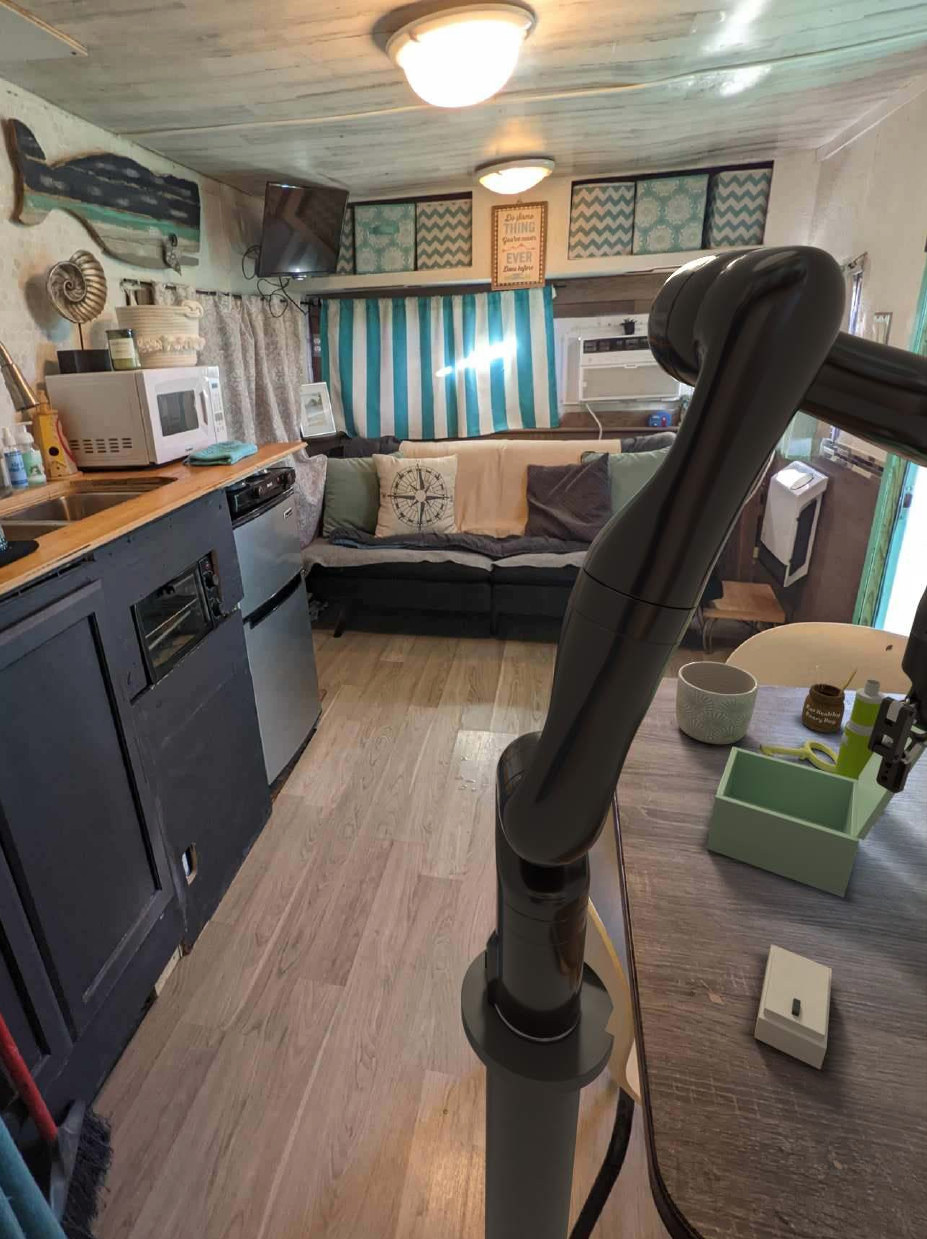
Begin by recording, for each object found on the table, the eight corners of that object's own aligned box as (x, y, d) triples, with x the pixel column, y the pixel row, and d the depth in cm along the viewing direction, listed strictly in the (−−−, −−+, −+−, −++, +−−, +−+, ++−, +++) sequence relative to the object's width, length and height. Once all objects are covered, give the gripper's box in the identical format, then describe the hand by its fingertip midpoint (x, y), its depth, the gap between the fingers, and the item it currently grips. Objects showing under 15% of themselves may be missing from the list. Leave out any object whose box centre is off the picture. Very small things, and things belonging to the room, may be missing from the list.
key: (753, 754, 107) (755, 743, 106) (819, 745, 109) (822, 734, 108) (785, 781, 100) (787, 769, 100) (854, 770, 102) (857, 759, 101)
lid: (927, 729, 68) (986, 752, 66) (920, 677, 79) (972, 695, 76) (855, 837, 76) (906, 860, 74) (858, 776, 86) (903, 795, 84)
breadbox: (706, 848, 88) (715, 796, 85) (724, 794, 98) (732, 746, 95) (843, 897, 79) (858, 841, 76) (847, 832, 90) (861, 780, 86)
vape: (823, 790, 98) (850, 675, 91) (867, 794, 97) (899, 677, 89) (834, 806, 94) (863, 688, 87) (880, 810, 93) (913, 690, 86)
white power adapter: (820, 1070, 61) (829, 1038, 59) (753, 1037, 64) (761, 1006, 63) (826, 988, 69) (835, 958, 67) (767, 963, 72) (773, 933, 70)
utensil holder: (802, 712, 118) (814, 654, 114) (843, 722, 114) (857, 662, 110) (798, 727, 114) (810, 667, 109) (840, 738, 110) (855, 676, 106)
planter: (746, 759, 106) (756, 702, 102) (666, 740, 112) (673, 685, 108) (751, 723, 116) (761, 669, 112) (677, 707, 122) (684, 655, 118)
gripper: (968, 609, 65) (926, 743, 71) (867, 632, 61) (832, 773, 67) (1061, 637, 59) (1007, 782, 64) (955, 666, 54) (907, 819, 60)
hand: (918, 777), depth 66 cm, fingers open, 8 cm apart
